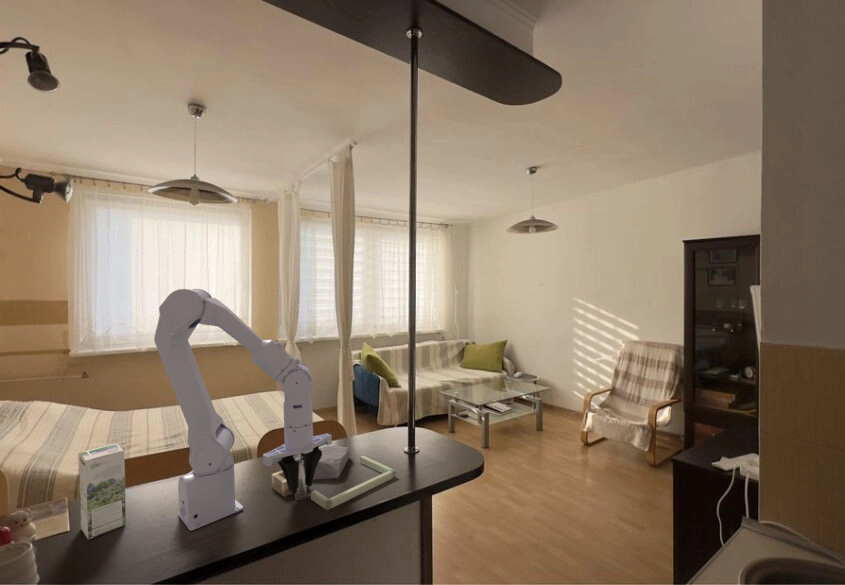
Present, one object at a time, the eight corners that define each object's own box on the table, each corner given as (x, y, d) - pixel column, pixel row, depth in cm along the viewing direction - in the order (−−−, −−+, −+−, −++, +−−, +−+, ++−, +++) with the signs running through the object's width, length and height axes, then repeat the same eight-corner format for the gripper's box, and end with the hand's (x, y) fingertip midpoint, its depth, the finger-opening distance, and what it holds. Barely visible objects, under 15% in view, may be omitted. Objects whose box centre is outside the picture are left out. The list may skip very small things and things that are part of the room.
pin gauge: (298, 501, 81) (297, 462, 80) (292, 497, 82) (291, 459, 82) (308, 496, 82) (307, 458, 82) (303, 492, 84) (301, 455, 84)
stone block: (299, 488, 90) (342, 479, 89) (295, 467, 90) (337, 458, 90) (315, 466, 102) (352, 458, 101) (311, 448, 102) (348, 439, 101)
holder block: (284, 496, 82) (283, 482, 82) (272, 487, 86) (271, 474, 86) (308, 486, 86) (307, 473, 86) (295, 478, 90) (295, 465, 90)
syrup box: (118, 515, 77) (115, 441, 77) (127, 526, 74) (124, 448, 73) (80, 529, 73) (77, 451, 73) (87, 541, 69) (84, 459, 69)
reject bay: (327, 510, 77) (327, 502, 77) (296, 489, 85) (296, 482, 85) (395, 476, 90) (395, 470, 90) (363, 461, 98) (363, 455, 98)
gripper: (273, 438, 74) (275, 509, 74) (339, 418, 84) (340, 481, 85) (257, 429, 79) (259, 496, 79) (321, 411, 89) (322, 471, 90)
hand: (300, 487), depth 82 cm, fingers open, 3 cm apart
